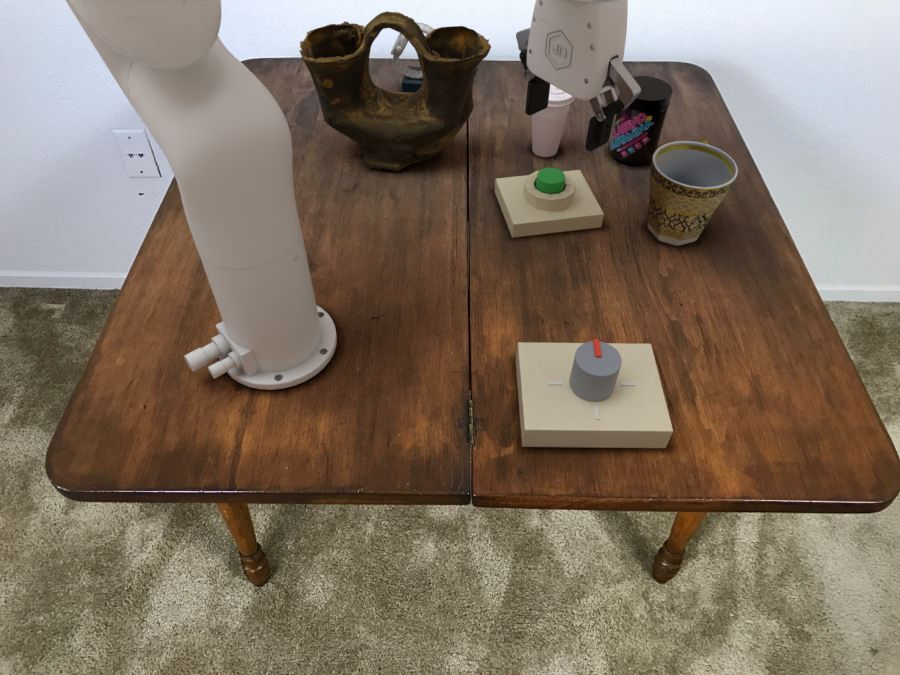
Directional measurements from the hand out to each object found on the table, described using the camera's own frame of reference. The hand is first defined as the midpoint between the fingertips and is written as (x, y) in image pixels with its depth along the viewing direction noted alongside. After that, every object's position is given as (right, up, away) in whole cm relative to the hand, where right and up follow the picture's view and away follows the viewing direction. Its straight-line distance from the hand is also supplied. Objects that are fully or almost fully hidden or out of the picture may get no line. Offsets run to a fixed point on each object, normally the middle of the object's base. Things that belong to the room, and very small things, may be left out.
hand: (565, 128), depth 79 cm
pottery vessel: (-21, +2, +21) cm, 29 cm away
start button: (0, -5, +9) cm, 11 cm away
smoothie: (+1, +3, +22) cm, 22 cm away
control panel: (+1, -31, -9) cm, 32 cm away
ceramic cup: (+16, -9, +11) cm, 22 cm away
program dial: (+1, -29, -12) cm, 31 cm away
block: (-1, -7, +12) cm, 14 cm away
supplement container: (+13, +2, +21) cm, 25 cm away
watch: (-19, +16, +32) cm, 41 cm away
